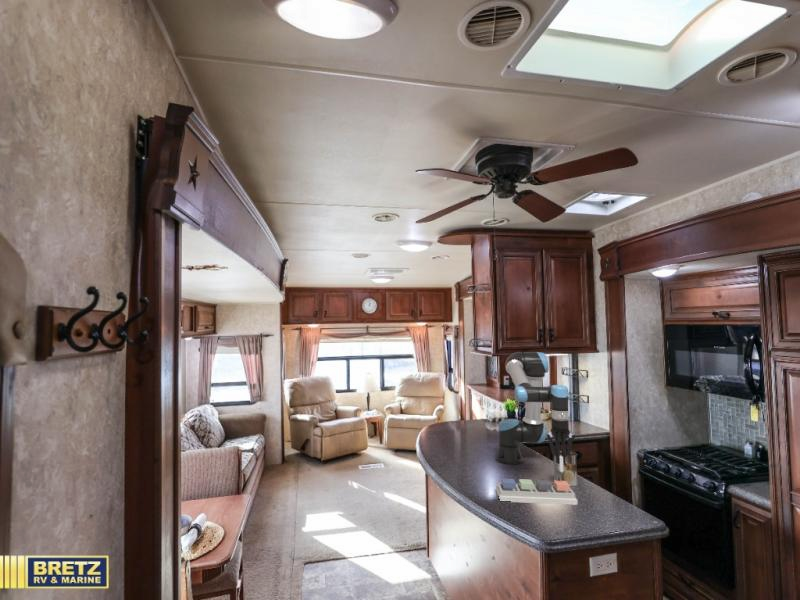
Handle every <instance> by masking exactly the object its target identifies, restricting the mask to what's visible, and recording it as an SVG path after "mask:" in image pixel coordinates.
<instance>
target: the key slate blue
mask: <svg viewBox="0 0 800 600" xmlns="http://www.w3.org/2000/svg"><path fill="white" fill-rule="evenodd" d="M501 483H502V486H503V488H505V489H516V484H517V482H516V481H515V478H501Z"/></svg>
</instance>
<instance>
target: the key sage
mask: <svg viewBox="0 0 800 600" xmlns="http://www.w3.org/2000/svg"><path fill="white" fill-rule="evenodd" d="M518 484H519V486H520V487H521V489H531V490H534V485H535V484H534V482H533V480H532V479H528V478H527V479H523V478H521V479H518Z"/></svg>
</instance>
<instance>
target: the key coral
mask: <svg viewBox="0 0 800 600" xmlns="http://www.w3.org/2000/svg"><path fill="white" fill-rule="evenodd" d="M553 485H554V487H555V488H556V490H557V491H570V488H571V486H570V485H569V484H568V483H567V482H566V481H555V480H554V479H553Z"/></svg>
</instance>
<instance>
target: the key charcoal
mask: <svg viewBox="0 0 800 600" xmlns="http://www.w3.org/2000/svg"><path fill="white" fill-rule="evenodd" d="M535 485H536V486H537V487H538V489H539V490H552V485H553V484H552V483H551V482H550V480H549V479H547V480H546V479H536V480H535Z"/></svg>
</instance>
